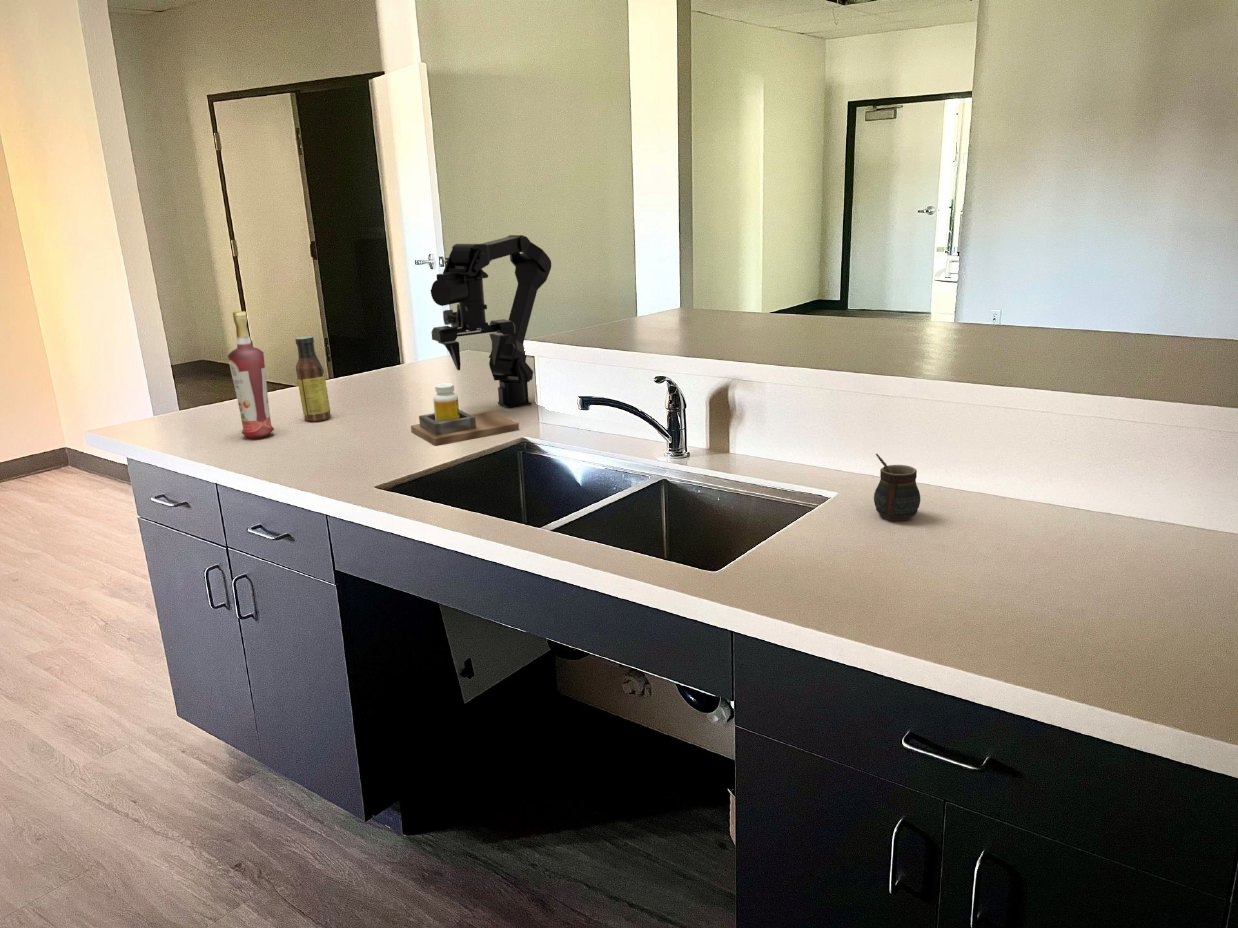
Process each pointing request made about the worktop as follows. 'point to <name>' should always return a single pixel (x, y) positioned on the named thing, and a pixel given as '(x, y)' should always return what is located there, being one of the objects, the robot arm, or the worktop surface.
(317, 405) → the sauce bottle
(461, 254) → the robot arm
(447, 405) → the supplement bottle
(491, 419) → the socket board
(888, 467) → the mate gourd
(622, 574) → the worktop surface
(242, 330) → the liquor
